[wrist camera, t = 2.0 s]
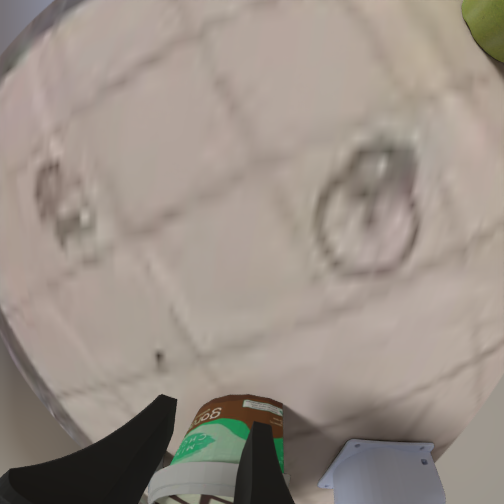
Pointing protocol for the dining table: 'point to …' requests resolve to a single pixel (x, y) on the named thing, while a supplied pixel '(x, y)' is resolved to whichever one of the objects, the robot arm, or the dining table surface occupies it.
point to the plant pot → (486, 24)
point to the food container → (216, 451)
